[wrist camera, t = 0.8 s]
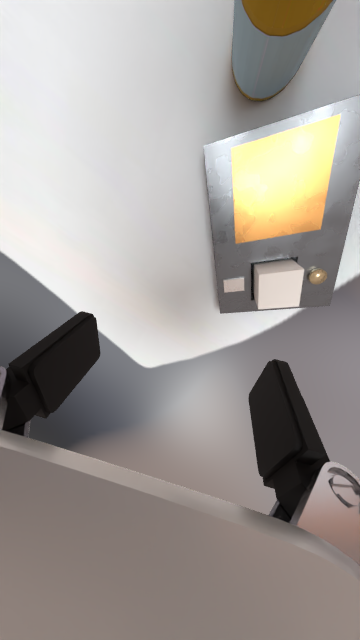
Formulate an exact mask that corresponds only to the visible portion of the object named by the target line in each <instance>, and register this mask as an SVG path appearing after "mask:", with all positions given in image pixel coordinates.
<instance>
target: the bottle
mask: <svg viewBox="0 0 360 640" xmlns="http://www.w3.org/2000/svg"><path fill="white" fill-rule="evenodd" d="M335 1H336V0H235V3H234V22H233V42H232V70H233V75H234V79H235V83H236V85H237V87H238V88H239V90H240V91H241V93H242V94H243V95H244V96H246V97H247V98H249V99H250V100H255V101H263V100H266V99H269V98H272V97H273V96H275V95H276V94H278V93H279V92H280V91H282V90H283V89H284V88H285V87H286V86H287V84H288V83H289V82H290V81H291V79H292V78H293V77H294V75H295V74H296V72H297V71H298V69H299V67H300V65H301V63H302V62H303V60H304V58H305V56H306V54H307V52H308V51H309V49H310V47H311V45H312V43H313V41H314V40H315V38H316V36H317V34H318V32H319V31H320V29H321V27H322V25H323V23H324V21H325V20H326V18H327V16H328V14H329V12H330V10H331V9H332V7H333V5H334V3H335Z"/></svg>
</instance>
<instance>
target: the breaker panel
mask: <svg viewBox="0 0 360 640" xmlns="http://www.w3.org/2000/svg"><path fill="white" fill-rule="evenodd" d="M203 147H204V157H205V166H206V176H207V186H208V196H209V206H210V216H211V226H212V236H213V246H214V256H215V266H216V276H217V286H218V296H219V306H220V314H221V313H235V312H249V311H263V310H277V309H291V308H305V307H319V306H330V302H331V298H332V294H333V290H334V286H335V281H336V277H337V273H338V269H339V265H340V261H341V256H342V252H343V248H344V244H345V240H346V235H347V231H348V227H349V223H350V219H351V214H352V210H353V206H354V202H355V198H356V193H357V189H358V185H359V181H360V95H357V96H354V97H351V98H348V99H345V100H341V101H338V102H335V103H332V104H329V105H326V106H323V107H320V108H317V109H314V110H311V111H308V112H305V113H302V114H299V115H296V116H293V117H290V118H287V119H284V120H281V121H277V122H274V123H271V124H268V125H265V126H262V127H259V128H256V129H253V130H250V131H247V132H244V133H241V134H238V135H235V136H232V137H229V138H226V139H223V140H220V141H217V142H213V143H210V144H207V145H204V146H203ZM290 257H291V259H292V260H293V261H295V262H296V263H297V264H298V265H300V266H301V267H302V268H303V269H304V275H303V282H302V289H301V296H300V303H299V307H285V308H271V309H258V307H257V304H256V301H255V298H254V295H253V293H251V263H254V262H261V261H268V260H276V259H283V258H290Z"/></svg>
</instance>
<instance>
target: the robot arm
mask: <svg viewBox="0 0 360 640" xmlns="http://www.w3.org/2000/svg"><path fill="white" fill-rule="evenodd" d="M99 357H100V346H99V338H98V330H97V322H96V318H95V317H94V315H93V314H91V313H87V312H83V311H82V312H79V313H78V314H76V315H75V316H74V317H72V318H71V319H70V320H68V321H67V322H65V323H64V324H63V325H61V326H60V327H59V328H58V329H56V330H55V331H53V332H52V333H50V334H49V335H48V336H46V337H45V338H44V339H42V340H41V341H39V342H38V343H37V344H35V345H34V346H32V347H31V348H30V349H28V350H27V351H26V352H24V353H23V354H22V355H20V356H19V357H17V358H16V359H15V360H13V361H12V362H11V363H9V366H10V367H9V368H7V369H6V370H5V368H4V367H1V366H0V640H360V479H359V478H358V477H356V475H354V474H353V473H352V472H351V471H350V470H348V469H347V468H346V467H344V466H342V465H340V464H338V463H335V462H330V460H329V458H328V456H327V453H326V451H325V449H324V447H323V444H322V442H321V439H320V437H319V434H318V432H317V430H316V427H315V425H314V423H313V420H312V418H311V416H310V413H309V411H308V408H307V406H306V404H305V401H304V399H303V397H302V396H301V393H300V391H299V388H298V386H297V384H296V382H295V379H294V377H293V374H292V372H291V370H290V367H289V365H288V363H287V362H284V361H279V360H276V359H274V360H273V361H269V362H268V363H267V365H266V367H265V368H264V370H263V372H262V374H261V375H260V377H259V378H258V380H257V382H256V383H255V385H254V387H253V388H252V390H251V392H250V394H249V405H250V413H251V420H252V428H253V435H254V442H255V449H256V457H257V464H258V471H259V474H260V476H262V477H263V482H264V486H267V487H270V488H274V489H275V492H276V498H277V501H276V502H275V504H274V506H273V508H272V510H271V511H270V513H269V515H266V514H262V513H260V512H257V511H254V510H251V509H248V508H245V507H242V506H240V505H237V504H234V503H230V502H227V501H224V500H221V499H218V498H215V497H212V496H209V495H206V494H203V493H200V492H196V491H194V490H191V489H188V488H184V487H182V486H178V485H175V484H172V483H169V482H166V481H163V480H160V479H157V478H154V477H150V476H147V475H144V474H141V473H138V472H135V471H132V470H129V469H126V468H122V467H119V466H116V465H113V464H110V463H107V462H104V461H101V460H97V459H94V458H91V457H88V456H85V455H81V454H78V453H75V452H72V451H69V450H65V449H62V448H59V447H56V446H53V445H50V444H47V443H43V442H40V441H37V440H34V439H30V438H28V437H29V427H30V420H31V418H32V417H33V416H34V415H36V416H40V417H43V418H47V417H48V416H49V414H50V413H53V412H54V411H56V410H57V409H58V407H59V406H60V405H61V404H62V403H63V401H64V400H65V399H66V398H67V396H68V395H69V394H70V393H71V392H72V390H73V389H74V388H75V386H76V385H77V384H78V383H79V382H80V381H81V379H82V378H83V377H84V376H85V375H86V373H87V372H88V371H89V370H90V368H91V367H92V366H93V365H94V364H95V362H96V361H97V360H98V359H99Z"/></svg>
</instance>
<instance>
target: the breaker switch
mask: <svg viewBox="0 0 360 640" xmlns="http://www.w3.org/2000/svg"><path fill="white" fill-rule="evenodd" d="M303 275H304V269H303V268H302V267H301V266H300V265H298V264H297V263H296V262H295V261H293V260H292V259H287V260H279V261H272V262H265V263H258V264H254V291H253V295H254V298H255V301H256V304H257V307H258V309H271V308H285V307H299V303H300V296H301V289H302V282H303Z"/></svg>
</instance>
